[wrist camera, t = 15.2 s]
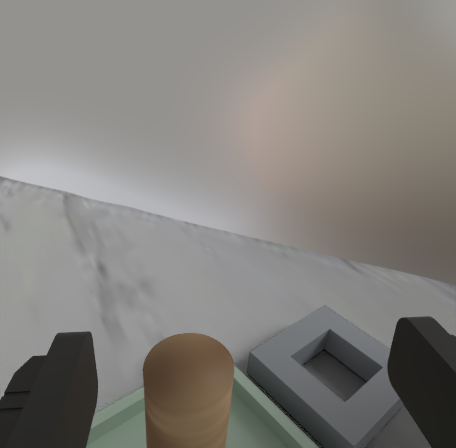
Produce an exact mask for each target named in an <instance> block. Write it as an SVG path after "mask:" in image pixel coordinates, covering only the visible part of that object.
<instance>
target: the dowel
mask: <svg viewBox="0 0 456 448" xmlns="http://www.w3.org/2000/svg"><path fill="white" fill-rule="evenodd" d="M233 378H234V362H233V359H232V356H231V354H230V353H229V351H228V350H227V349H226V347H225V346H224V345H222V344H221V343H220V342H218V341H217V340H215V339H213V338H211V337H209V336H206V335H202V334H196V333H184V334H178V335H174V336H171V337H168V338H166V339H164V340H162V341H161V342H159V343H158V344H157V345H155V346H154V347H153V348H152V349H151V351H150V352H149V353H148V355H147V357H146V359H145V362H144V366H143V379H144V401H145V423H146V444H147V448H225V446H226V438H227V429H228V421H229V412H230V404H231V395H232V387H233Z"/></svg>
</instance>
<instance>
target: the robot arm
mask: <svg viewBox="0 0 456 448" xmlns="http://www.w3.org/2000/svg"><path fill="white" fill-rule="evenodd" d="M387 371H388V377H389V380H390V383H391V385H392V387H393V389H394V390H395V392H396V393H397V395H398V396H399V398H400V399H401V401H402V402H403V404H404V405H405V407H406V409H407V410H408V412H409V413H410V415H411V416H412V418H413V419H414V421H415V422H416V424H417V425H418V427H419V428H420V430H421V431H422V433H423V435H424V436H425V438H426V439H427V441H428V442H429V444H430V445H431V447H432V448H456V337H455V336H454V335H450V334H449V333H448V332H447V331H446V330H445V329H444V328H443V327H442V326H441V325H440V324H439V323H438V322H437V321H436V320H435V319H434V318H432V317H406V318H401V319H399V320H398V322H397V325H396V329H395V333H394V337H393V341H392V346H391V350H390V354H389V358H388V363H387ZM97 395H98V378H97V370H96V362H95V354H94V347H93V339H92V334H91V332H68V333H58V334H57V335H56V336H55V338H54V340H53V342H52V345H51V347H50V349H49V351H48V354H47V355H46V356H32V357H31V358H30V359H29V360H28V361H27V362H26V363H25V364H24V365H23V366H22V367H21V368H19V369H18V370H17V371H16V372H15V373H14V375H13V377H12V379H11V381H10V383H9V385H8V387H7V388H6V390H5V392H4V396H2V398H1V400H0V448H86V446H87V441H88V437H89V433H90V429H91V425H92V421H93V417H94V412H95V408H96V403H97Z"/></svg>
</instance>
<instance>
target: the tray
mask: <svg viewBox="0 0 456 448" xmlns="http://www.w3.org/2000/svg"><path fill="white" fill-rule="evenodd" d="M86 448H147V444H146V423H145V401H144V386H143V387H142V388H140V389H138V390H136V391H135V392H133V393H131V394H129V395H128V396H126V397H124V398H122V399H121V400H119V401H117V402H115V403H114V404H112V405H110V406H109V407H107V408H105V409H103V410H102V411H100V412H98V413H96V414H95V415H94V417H93V421H92V425H91V429H90V433H89V437H88V441H87V446H86ZM225 448H319V447H318V446H317V445H316V444H315V443H314V442H313V441H312V440H311V439H309V438H308V437H307V436H306V435H305V434H304V433H303V432H302V431H301V430H300V429H299V428H298V427H297V426H296V425H295V424H294V423H293V422H292V421H291V420H290V419H289V418H288V417H287V416H286V415H285V414H284V413H283V412H282V411H281V410H280V409H279V408H278V407H277V406H276V405H275V404H274V403H273V402H272V401H271V400H270V399H269V398H268V397H267V396H266V395H265V394H264V393H263V392H262V391H261V390H260V389H259V388H257V387H256V386H255V385H254V384H253V383H252V382H251V381H250V380H249V379H248V378H247V377H246V376H245V375H244V374H243V373H242V372H241V371H240V370H239V369H238V368H237V367H236V366H235V365H234V378H233V387H232V395H231V404H230V412H229V421H228V429H227V438H226V446H225Z"/></svg>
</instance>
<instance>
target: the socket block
mask: <svg viewBox="0 0 456 448" xmlns="http://www.w3.org/2000/svg"><path fill="white" fill-rule="evenodd" d="M323 349H325V350H326V351H328V352H329V353H330V354H332V355H333V356H334V357H336V358H337V359H338V360H339V361H341V362H342V363H343V364H345V365H346V366H347V367H349V368H350V369H351V370H353V371H354V372H355V373H356V374H358V375H359V376H360V377H362V378H363V379H364V380H366V381H367V383H366V384H364V385H363V386H362V387H361V388H360V389H359V390H358V391H357V392H356V393H355V394H354V395H352V396H351V397H350V398H349V399H348V400H347V401H346V402H344V401H343V400H342V399H340V398H339V397H338V396H337V395H336V394H335V393H333V392H332V391H331V390H330V389H329V388H327V387H326V386H325V385H324V384H323V383H321V382H320V381H319V380H318V379H317V378H315V377H314V376H313V375H312V374H311V373H310V372H308V371H307V370H306V369H305V368H304V367H302V365H303V364H304V363H306V362H307V361H309V360H310V359H311V358H313V357H314V356H315V355H317V354H318V353H319V352H321V351H322V350H323ZM390 350H391V349H390V348H388V347H387V346H385V345H384V344H382V343H381V342H379V341H378V340H376V339H375V338H373V337H372V336H370V335H369V334H367V333H366V332H364V331H363V330H361V329H360V328H358V327H357V326H355V325H354V324H352V323H351V322H350V321H348V320H347V319H345V318H344V317H342V316H341V315H339V314H338V313H336V312H335V311H333V310H332V309H330V308H329V307H327V306H326V305H324V306H322V307H320V308H319V309H317V310H316V311H314V312H312V313H311V314H309V315H308V316H306V317H304V318H303V319H301V320H300V321H298V322H296V323H295V324H293V325H292V326H290V327H288V328H287V329H285V330H284V331H282V332H280V333H279V334H277V335H276V336H274V337H272V338H271V339H269V340H268V341H266V342H264V343H263V344H261V345H260V346H258V347H257V348H255V349H253V350H252V351H250V355H249V362H248V369H247V373H248V374H249V375H250V376H251V377H252V378H253V379H254V380H255V381H256V382H257V383H258V384H259V385H260V386H261V387H262V388H263V389H264V390H265V391H266V392H267V393H268V394H270V395H271V396H272V397H273V398H274V399H275V400H276V401H277V402H278V403H279V404H280V405H281V406H282V407H283V408H284V409H285V410H286V411H287V412H288V413H289V414H290V415H291V416H292V417H293V418H294V419H295V420H296V421H297V422H298V423H299V424H300V425H302V426H303V427H304V428H305V429H306V430H307V431H308V432H309V433H310V434H311V435H312V436H313V437H314V438H315V439H316V440H317V441H318V442H319V443H320V444H321V445H322V446H323V447H324V448H365V447H366V446H367V445H368V444H369V442H370V441H371V440H372V439H373V438H374V437H375V436H376V435H377V434H378V433H379V432H380V430H381V429H382V428H383V427H384V426H385V425H386V424H387V423H388V422H389V421H390V420H391V418H392V417H393V416H394V415H395V414H396V413H397V412H398V411H399V410H400V409H401V408H402V406H403V405H404V404H403V402H402V401H401V399H400V398H399V396H398V395H397V393H396V392H395V390H394V389H393V387H392V385H391V383H390V380H389V377H388V371H387V363H388V358H389V354H390Z"/></svg>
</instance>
